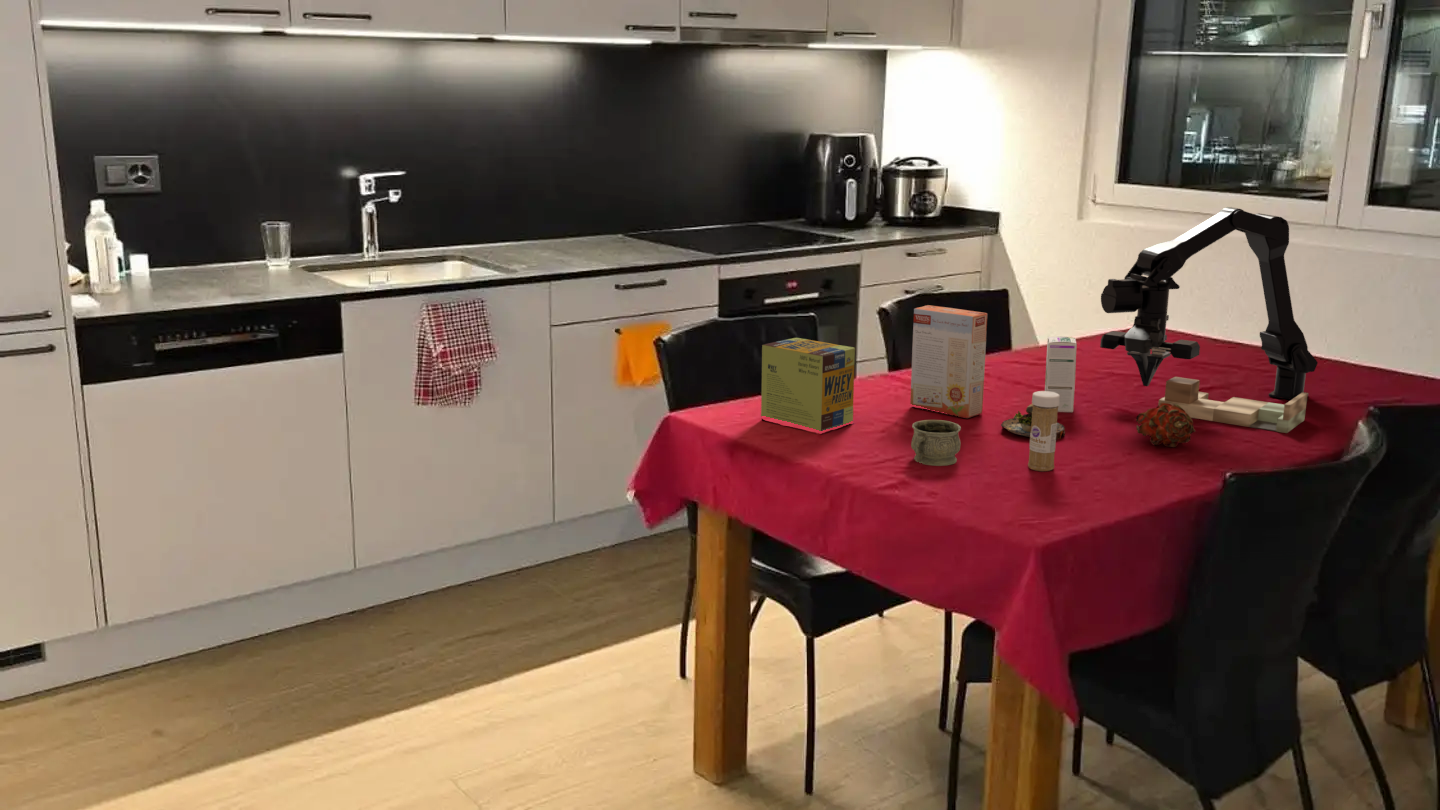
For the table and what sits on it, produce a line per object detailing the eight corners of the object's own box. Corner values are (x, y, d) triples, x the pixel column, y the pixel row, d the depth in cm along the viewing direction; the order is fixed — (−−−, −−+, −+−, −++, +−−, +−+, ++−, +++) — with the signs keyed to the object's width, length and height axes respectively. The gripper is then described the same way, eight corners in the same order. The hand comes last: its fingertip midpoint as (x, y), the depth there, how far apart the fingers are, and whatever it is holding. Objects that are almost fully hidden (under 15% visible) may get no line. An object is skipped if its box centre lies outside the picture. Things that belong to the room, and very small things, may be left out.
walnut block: (1173, 395, 263) (1175, 376, 262) (1197, 399, 260) (1199, 380, 259) (1164, 400, 259) (1166, 381, 258) (1189, 404, 256) (1191, 384, 255)
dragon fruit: (1189, 461, 232) (1136, 455, 243) (1213, 429, 235) (1159, 423, 245) (1170, 428, 229) (1117, 423, 239) (1194, 395, 232) (1140, 391, 242)
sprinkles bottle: (1023, 468, 223) (1027, 393, 220) (1035, 462, 227) (1040, 388, 223) (1047, 473, 220) (1052, 398, 217) (1059, 467, 224) (1064, 393, 220)
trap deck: (1178, 400, 269) (1181, 374, 268) (1304, 420, 254) (1307, 393, 253) (1157, 411, 260) (1160, 385, 259) (1286, 433, 245) (1290, 405, 244)
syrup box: (1073, 412, 259) (1078, 342, 256) (1043, 411, 261) (1048, 341, 257) (1071, 405, 265) (1076, 336, 261) (1042, 404, 266) (1047, 335, 262)
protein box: (821, 435, 244) (823, 355, 240) (760, 420, 254) (760, 344, 250) (854, 424, 251) (856, 347, 247) (793, 410, 261) (794, 336, 257)
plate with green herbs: (989, 429, 249) (991, 392, 247) (1040, 423, 253) (1042, 386, 251) (1025, 445, 238) (1027, 406, 236) (1078, 439, 242) (1080, 401, 240)
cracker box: (983, 414, 258) (989, 312, 253) (967, 420, 254) (972, 316, 249) (925, 402, 268) (929, 303, 262) (908, 407, 263) (912, 307, 258)
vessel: (935, 448, 236) (936, 415, 234) (975, 458, 230) (977, 424, 228) (894, 461, 227) (895, 427, 226) (935, 472, 221) (936, 437, 220)
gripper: (1092, 311, 259) (1086, 386, 263) (1184, 322, 248) (1177, 400, 252) (1113, 303, 268) (1108, 376, 272) (1204, 314, 256) (1196, 389, 260)
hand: (1146, 385), depth 264 cm, fingers closed
